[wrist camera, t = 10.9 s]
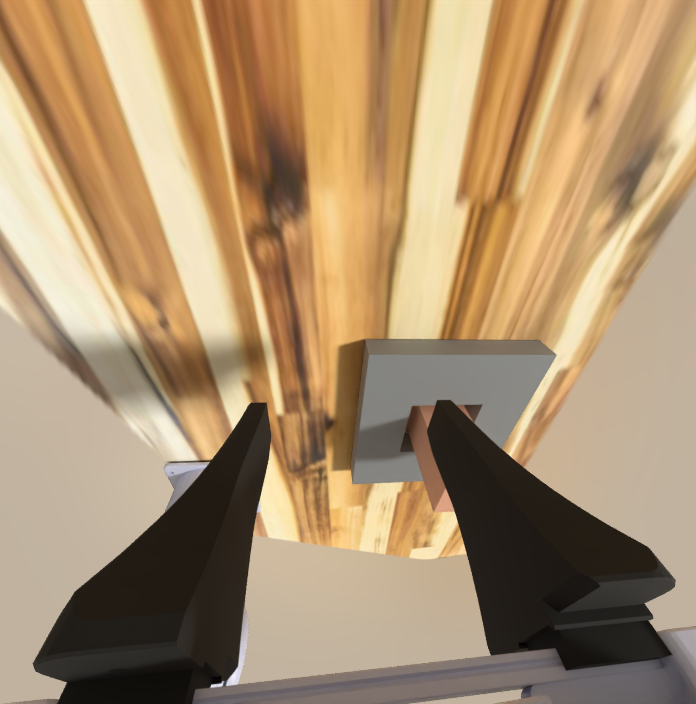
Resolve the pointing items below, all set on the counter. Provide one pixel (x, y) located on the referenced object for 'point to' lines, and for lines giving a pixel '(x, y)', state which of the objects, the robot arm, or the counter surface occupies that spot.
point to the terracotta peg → (428, 456)
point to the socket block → (438, 395)
